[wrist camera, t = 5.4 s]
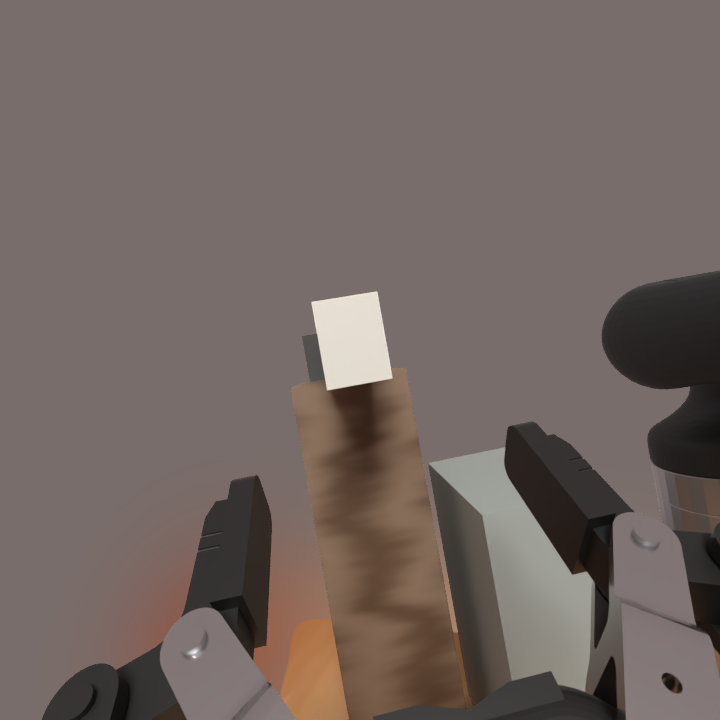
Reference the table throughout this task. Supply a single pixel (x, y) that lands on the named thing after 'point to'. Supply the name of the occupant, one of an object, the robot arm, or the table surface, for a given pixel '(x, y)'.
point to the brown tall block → (378, 546)
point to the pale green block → (507, 581)
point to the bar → (347, 342)
